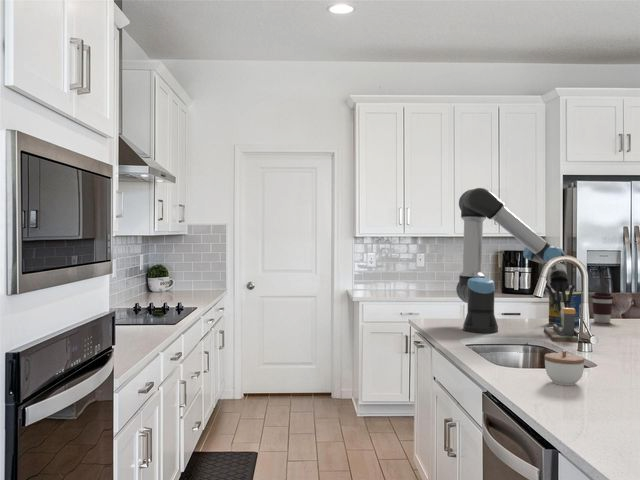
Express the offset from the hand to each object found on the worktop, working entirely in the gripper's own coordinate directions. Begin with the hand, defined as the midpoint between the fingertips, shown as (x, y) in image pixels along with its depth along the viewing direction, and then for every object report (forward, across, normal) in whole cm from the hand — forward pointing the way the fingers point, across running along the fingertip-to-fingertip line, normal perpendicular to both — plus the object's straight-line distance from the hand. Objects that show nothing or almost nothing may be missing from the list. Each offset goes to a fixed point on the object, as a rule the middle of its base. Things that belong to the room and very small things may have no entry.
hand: (563, 315), depth 253 cm
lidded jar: (+70, +12, +59) cm, 92 cm away
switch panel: (+10, 0, -1) cm, 10 cm away
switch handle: (+13, 0, +4) cm, 14 cm away
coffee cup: (-25, -24, -37) cm, 51 cm away
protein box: (-17, -6, -29) cm, 35 cm away
